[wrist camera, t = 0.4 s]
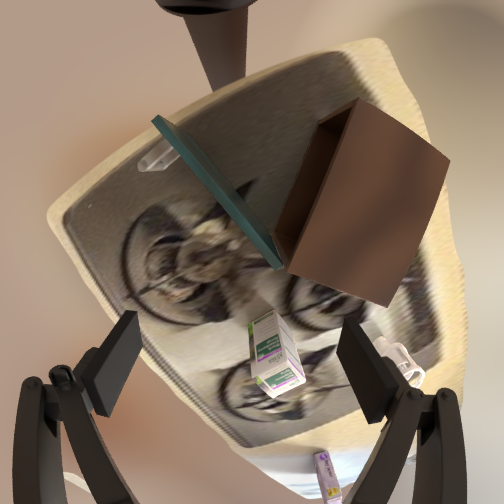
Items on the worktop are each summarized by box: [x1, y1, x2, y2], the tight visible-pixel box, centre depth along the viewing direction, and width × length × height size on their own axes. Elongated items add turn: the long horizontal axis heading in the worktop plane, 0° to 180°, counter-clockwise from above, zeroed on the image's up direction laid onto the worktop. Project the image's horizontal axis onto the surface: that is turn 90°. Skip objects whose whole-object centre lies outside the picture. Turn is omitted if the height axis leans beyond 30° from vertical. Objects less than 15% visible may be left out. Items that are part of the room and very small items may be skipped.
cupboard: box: [271, 97, 450, 308], centre depth 34 cm, size 14×20×16 cm
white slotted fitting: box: [373, 336, 425, 388], centre depth 44 cm, size 7×7×15 cm
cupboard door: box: [137, 115, 283, 271], centre depth 34 cm, size 6×20×16 cm, turn 38°
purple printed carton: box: [314, 451, 342, 504], centre depth 57 cm, size 19×5×18 cm, turn 12°
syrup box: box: [248, 309, 306, 398], centre depth 42 cm, size 6×6×14 cm
